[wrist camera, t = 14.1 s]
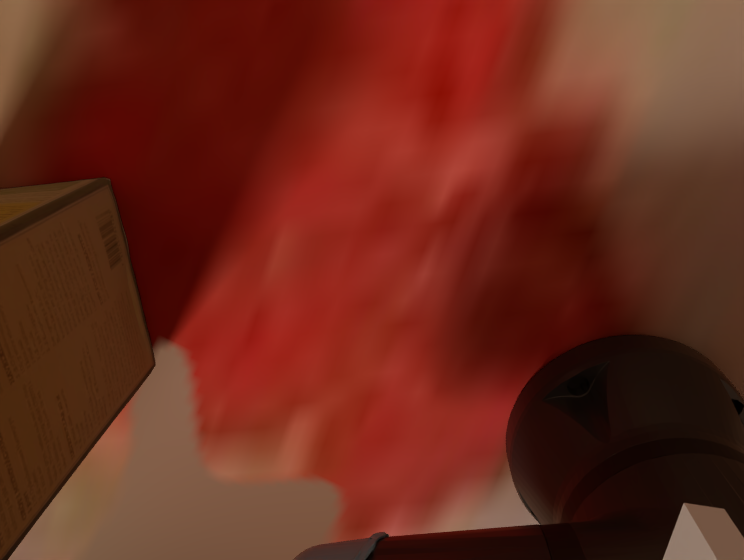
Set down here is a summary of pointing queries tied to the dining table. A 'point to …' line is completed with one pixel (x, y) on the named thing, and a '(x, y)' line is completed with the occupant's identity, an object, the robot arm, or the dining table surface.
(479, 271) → the dining table surface
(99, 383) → the food packaging
